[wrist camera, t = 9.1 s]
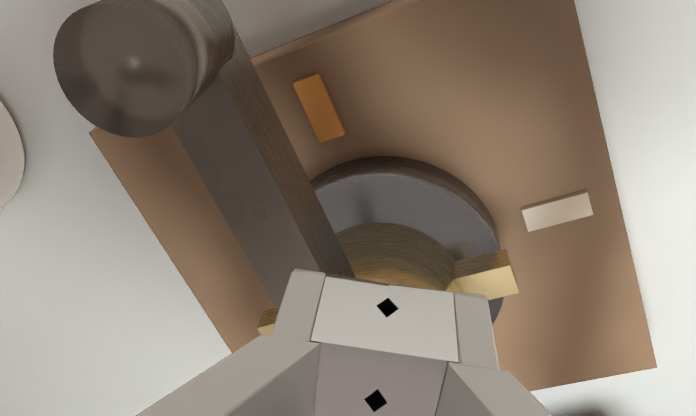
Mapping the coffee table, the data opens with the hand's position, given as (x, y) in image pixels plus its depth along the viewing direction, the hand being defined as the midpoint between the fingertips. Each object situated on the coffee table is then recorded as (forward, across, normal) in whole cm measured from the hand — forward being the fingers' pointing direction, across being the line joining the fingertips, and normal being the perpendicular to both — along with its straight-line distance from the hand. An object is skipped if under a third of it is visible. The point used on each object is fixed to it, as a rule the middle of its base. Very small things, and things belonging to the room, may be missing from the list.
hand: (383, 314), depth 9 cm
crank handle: (+10, +2, +3) cm, 11 cm away
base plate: (+15, 0, +7) cm, 17 cm away
